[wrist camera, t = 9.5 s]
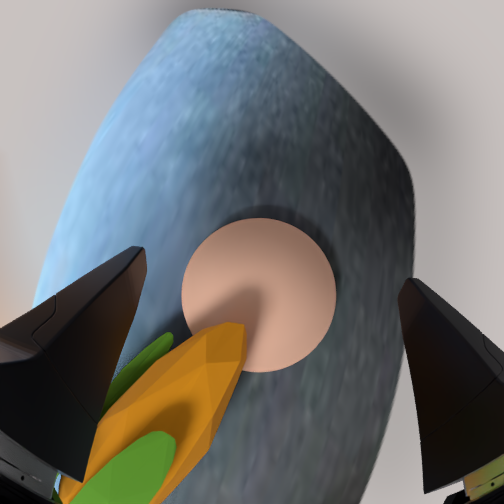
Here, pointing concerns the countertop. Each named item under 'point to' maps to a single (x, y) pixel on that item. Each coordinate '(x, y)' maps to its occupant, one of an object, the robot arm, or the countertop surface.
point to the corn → (160, 418)
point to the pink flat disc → (262, 290)
